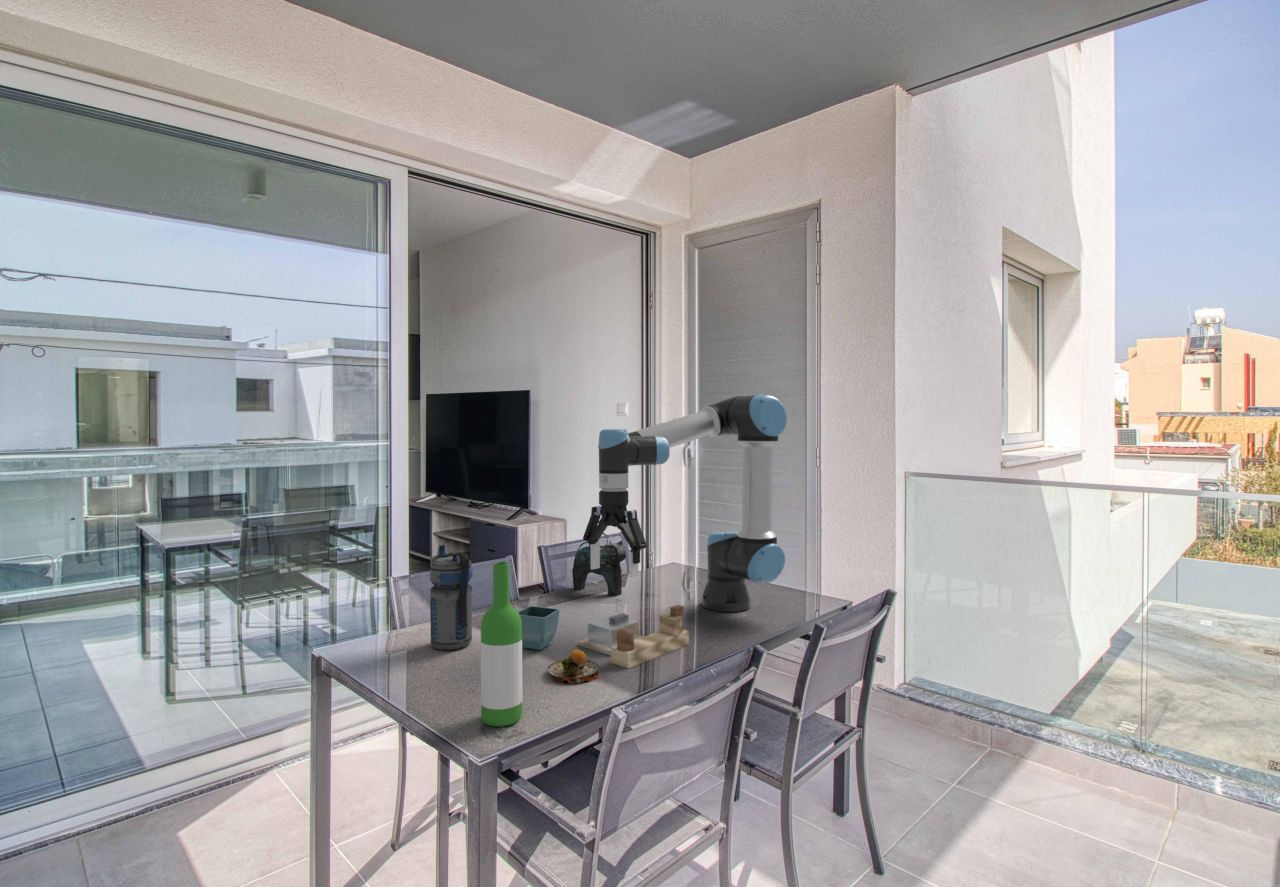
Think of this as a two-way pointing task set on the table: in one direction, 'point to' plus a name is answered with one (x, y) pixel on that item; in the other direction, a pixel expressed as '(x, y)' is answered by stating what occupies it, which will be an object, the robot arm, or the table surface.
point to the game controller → (608, 566)
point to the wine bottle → (501, 655)
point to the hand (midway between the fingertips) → (613, 572)
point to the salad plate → (574, 669)
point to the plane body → (651, 640)
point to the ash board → (596, 646)
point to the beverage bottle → (450, 600)
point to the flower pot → (538, 626)
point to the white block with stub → (611, 629)
